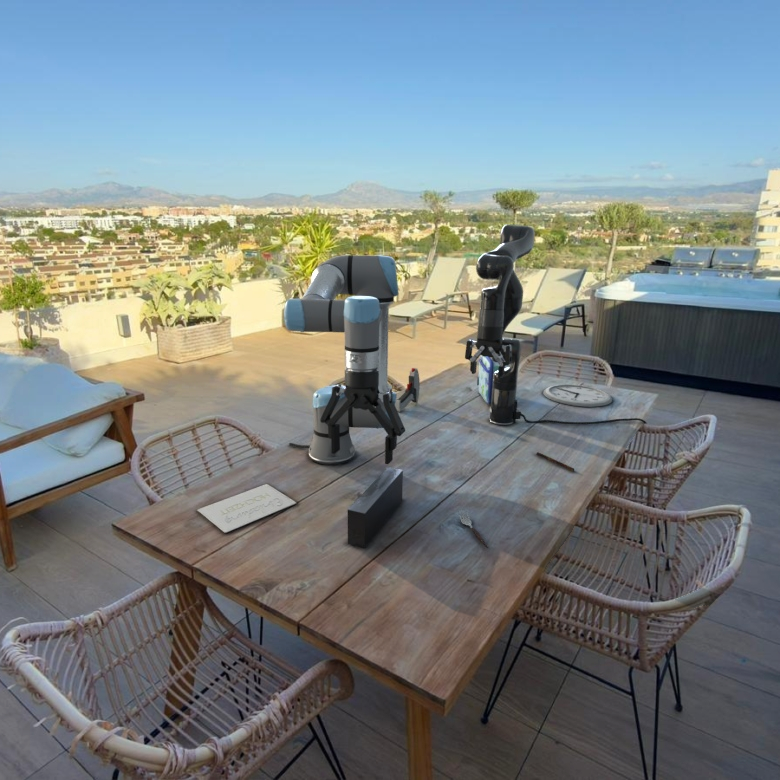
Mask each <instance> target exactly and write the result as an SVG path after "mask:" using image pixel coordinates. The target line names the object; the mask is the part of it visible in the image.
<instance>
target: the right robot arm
mask: <svg viewBox="0 0 780 780" xmlns="http://www.w3.org/2000/svg"><path fill="white" fill-rule="evenodd" d="M535 239H536V232H535V229H534V228H533V227H531V226H527V225H516V224H505V225H504V226H503V227H502V229H501V232H500V236H499V245H498V246H497V247H496V248H495V249H494V250H490V251H488V252H485V253H483V254H482V255H481V256H480V257H479V258H478V260H477V262H476V265H475V271H476V274H477V276H478V277H479V278H480V279H482V280H489V281H497V285H496V286H492V287H491V286H490V287H486V288H483V289H482V290H481V292H480V299H479V300H480V301H479V302H480V303H479V311H478V317H477V334H476V340H473V339H469V340H467V341H466V343H465V344H466V345H465V353H464V359H465V360H468V361H469V362H470V365H469V371H470V373H471V374H472V375H475V374H476V373H477V368H478V367H477V366H478V361H477V360H478V359H480V357H481V355H482V356H484V357H485V356H488V357H491V358H492V361H493V362H497V363H498V364H499V365H500V366H499V368H498V370H497V371H495V372H494V374H493V385H492V398H491V404H490V407H489V412H490V413H489V414H490V415H489V422H490V423H491V424H494V425H497V426H511V425H513V424H516V423H517V420H521V417H522V418H523V421H524V422H526V423H527V424H528V423H529V424H530V423H531V424H536V423H537V424H538V423H553V424H564V425H597V424H605V423H613V422H614V423H615V422H626V421H627V422H630V421H631V422H632V421H640V422H642V423H643V424H645V425H647V424H648V422H647V421H645V420H644V419H642V418H638V417H633V418H632V417H631V418H615V419H614V418H613V419H608V420H607V419H606V420H598V421H597V420H596V421H563V420H551V419H539V420H534V421H533V420H529V419H527V417H526V416H525V415H524V414H523V413H522V411H520V410H519V409H518V399H517V388H518V377H519V376H518V375H519V366H520V359H521V353H522V343H521V341H520V340H519V339H518V338H517V339H516V338H503V335H504V333H505V331H506V329H507V328H508V326H509V325H510V324H511V323H512V322H513V320H514V319H515V318H517V316H518V314H519V313H520V311H521V310H522V307H523V300H524V299H523V298H524V288H523V285H522V282H521V280H520V279H519V277H518V275H517V273H516V271H515V269H514V268H515V267H514V266H515V265H514V264H515V262H516V261H517V260H520V259H521V258H523V257H525V256H527V255H528V254H530V253H531V252H532V250H533V249H534V245H535ZM474 347H476V350H477V351H476V352H474V354H473V348H474ZM472 354H473V355H472ZM506 365H508V367H506V368H505V366H506Z"/></svg>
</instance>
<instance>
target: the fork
mask: <svg viewBox="0 0 780 780" xmlns="http://www.w3.org/2000/svg"><path fill="white" fill-rule="evenodd" d="M457 512H458V516H459V519H460V521H461V523H462V524H463V525H464V526H468V527H469V528H470V529H471V531H472V533H473V534H474V537H476V539H478V541H480V543H481V544H482V545H483V546H484V547H485V548H486V549H489V547H488V545H487V543H486V541H485V540H484V539H483V537H482V535H481V534H480V532H479V531H477V529H475V528H474V527H473V525H472V519H471V518H470V516H469V514H468V511H467V510H464V509H462V510H459V509H457ZM465 512H466V513H465Z"/></svg>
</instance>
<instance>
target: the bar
mask: <svg viewBox="0 0 780 780" xmlns="http://www.w3.org/2000/svg"><path fill="white" fill-rule="evenodd" d="M403 475H404V470H403V469H399V468H395V467H390V466H388V467H386V468H385V469H384V470H383V471H382V473H380V474H379V476H377V478H376V479H375V480H374V481H373V482H372V483H371V484H370V485H368V487H367V488H366V489H365V491H364V492H362V493H361V494H360V496H359V497H358V498H357V499H356V500H355V501H354V502H353V503H352V504H351V505H350V506H349V507H348V508H347V545H350V546H354V547H358V548H363V549H366V548H367V547H368V545H369V543H370V542H371V541H372V540H373V538H374V537H375V536H376V535H377V534H378V532H379V531H380V529H381V528H382V527H383V526H384V524H386V522H387V520H388V519H389V518H390V517H391V516H392V514H393V513H394V511H396V509H397V508H398V506H399V505H400V504H401V503H402V501H403V483H404V482H403V480H404V476H403Z"/></svg>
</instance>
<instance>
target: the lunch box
mask: <svg viewBox="0 0 780 780" xmlns="http://www.w3.org/2000/svg"><path fill="white" fill-rule="evenodd" d="M499 366H500V365H499V364H498V363H497V362H493V361H492V358H491V357H488V356H485V357H484V356H482V355H481V356H480V358H479V360H478V377H477V381H476V384H477V385H476V386H478V393H479V395H480V396H481V397H482V399H483V400H484V402H485V404H487V405H488V406H489V405H490V406H491V398H492V385H493V374H494V372H495V371H497V370H498V368H499ZM508 366H509V365H506V366H505V368H506V367H508Z"/></svg>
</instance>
